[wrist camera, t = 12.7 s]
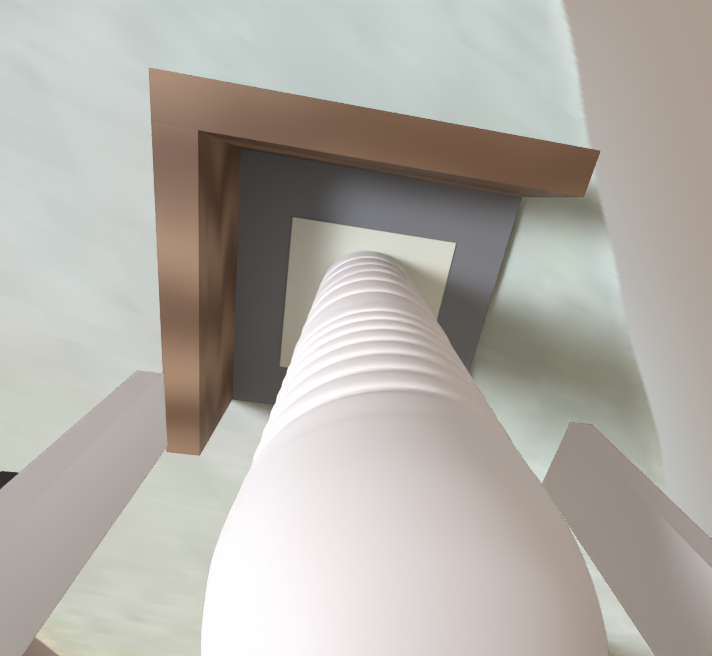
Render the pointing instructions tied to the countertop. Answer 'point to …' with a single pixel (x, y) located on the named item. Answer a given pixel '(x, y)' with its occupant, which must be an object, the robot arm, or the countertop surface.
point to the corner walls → (298, 140)
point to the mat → (353, 234)
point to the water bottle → (391, 503)
